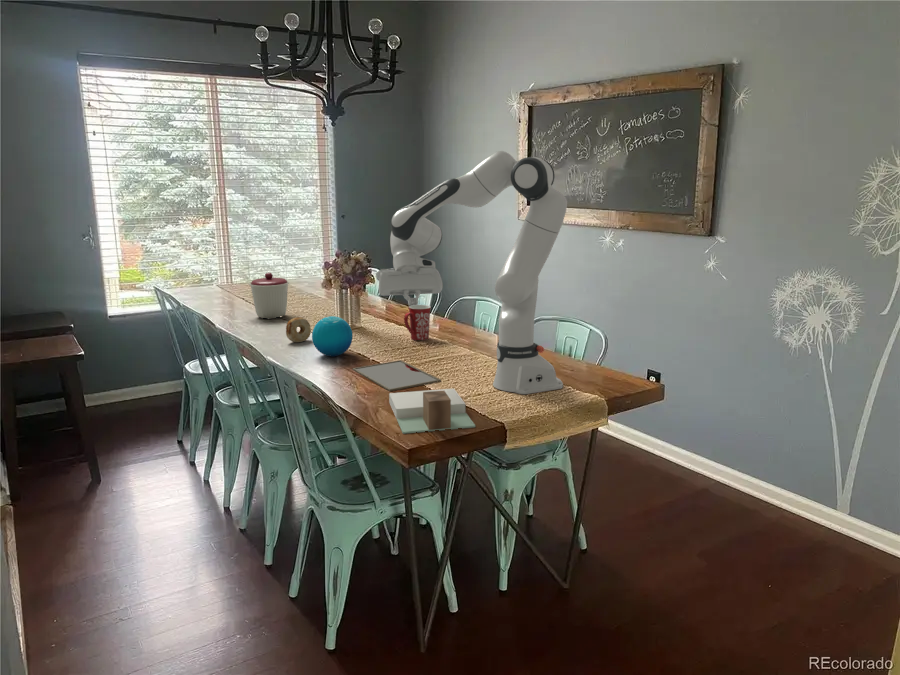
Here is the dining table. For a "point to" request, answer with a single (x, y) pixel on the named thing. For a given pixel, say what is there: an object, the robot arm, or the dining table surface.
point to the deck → (421, 403)
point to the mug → (418, 321)
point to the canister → (270, 296)
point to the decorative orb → (332, 336)
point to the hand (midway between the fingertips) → (413, 304)
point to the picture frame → (396, 375)
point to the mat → (420, 426)
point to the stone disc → (292, 329)
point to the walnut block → (436, 410)
